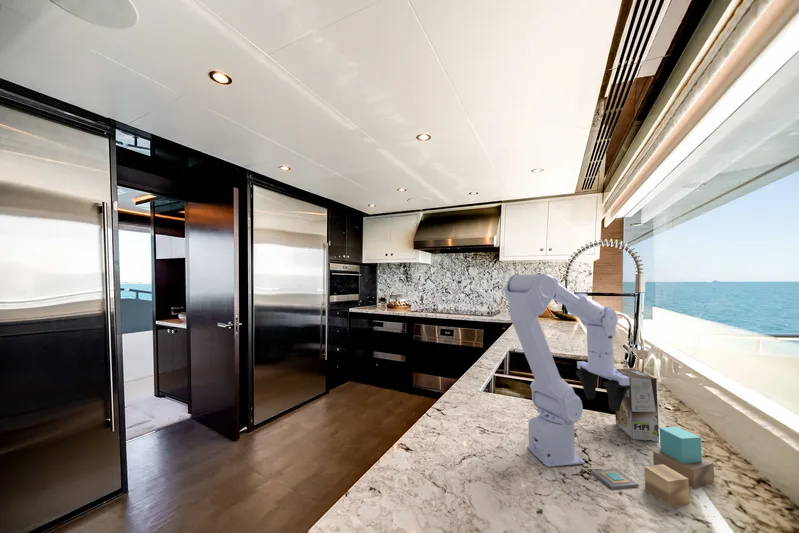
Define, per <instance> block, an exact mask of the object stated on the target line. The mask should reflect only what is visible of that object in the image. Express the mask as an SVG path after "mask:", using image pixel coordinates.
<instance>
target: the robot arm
mask: <svg viewBox="0 0 799 533" xmlns="http://www.w3.org/2000/svg"><path fill="white" fill-rule="evenodd" d="M504 293H505V295H506V298H507V300H508V303H509V304H508V306H509V315H510V316H509V317H510V321H511V322H512V326H513V328H514V330H515V333H516V335H517V337H518V340H519V343H520V346H521V348H522V350H523V353H524V355H525V358H526V360H527V362H528V365H529V367H530V370H531V373H532V375H533V377H534V379H533V380H532V382H530V385H529V388H530V390H531V399H532V400H531V401H532V403H533V405H534V406H535V407H536V408H537V410H536V412H537V413H538V415H536V416H535V417H532V418H531V417H530V419H529V420H528V444H527V447H526V448H527V449H528V451H530V452H531V453H532V454H533V455H534V456H535V457H536V458H537V459H538V460H540V462H542V463H543V465H545V466H546V467H548V468H550V467H551V468H552V467H560V466H561V467H562V466H571V465H583V464H585V460H584V459H583V458H581V457H580V456H579V455H578V454H576V450H575V449H576V445H575V441H576V440H575V423H577V422H578V420H580V418H581V417H582V415H583V410H584V409H583V408H584V407H583V403H582V400H581V398H580V396H578V395H577V394H576V393H575V389H574V388H573V387H572V385H570V384H569V383H568V382H567V381H566V380H564V379H563V378H562V376H561V375H560V373H559V370H558V367H557V365H556V362H555V360H554V357H553V354H552V352H551V349H550V347H549V344H548V341H547V338H546V336H545V334H544V331H543V328H542V325H541V324H540V321H539V316H541V315H543V314H544V312H545V311H546V310H547V308H548V307H549V306H550V304H551V302H552V301H555V302H557V303H559V304H562V305H564V306H565V310H566V311H567V312H568V313H569V314H570V315H573V316H575V317H576V318H578V319H580V322H581V323H582V324H583V326H586V343H587V344H586V345H587V346H586V347H587V349H586V350H587V362H586V361H584V360H581V361H579V360H578V361H576V365H577V366H576V368H577V369H578V370H576V371H575V374H576V376H577V377H578V379H579V381H580V383H581V385H582V388H583V391H584V395H585V398H586V399H587V400H594V399H596V392H597V391H596V390H597V388H596V387H597V382H598V377H601V378H604V379H607V380H609V381H603V385H604V388H605V391H606V393H607V400H608V408H609V411H610V412H615V411H619V410H620V407H621V403H622V400H623V398H624V396H625V394H626V392H627V391H628V390H629V388H630V382H629V377H627V376H625V375H623V374H621V373H619V372H618V371H617V369H618V368H615V359H614V358H615V357H614V355H615V352H614V336H615V335H616V328H617V325H618V321H619V317H618V315H617V312H616V311H615V309H613V308H612V307H609V306H603V305H601V304H600V302H598V301H596V300H593V299H591V298H590V297H588V296H589V295H588V294H587V293H583V292H580V293H573V292H572V291H570V290H569V289H567V288H566V287H564V286H563V285H562V284H561V283H560V282H559V281H558V278H557V277H554V276H552V275H551V274H550V273H546V272H545V273H540V274H538V273H537V274H536V273H535V274H512V275H511V276H510V277H509V278H508V280H507V282H506V285H505V288H504Z"/></svg>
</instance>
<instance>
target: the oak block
mask: <svg viewBox="0 0 799 533" xmlns="http://www.w3.org/2000/svg"><path fill="white" fill-rule="evenodd" d="M643 469H644V470H643V472H644V489H645V490H646V491H647V492H648V493H650V494H651V495H653V496H654V497H655V498H657V499H658V500H659V501H661V502H663V503H665V505H667V506H668V507H672V506H673V507H675V506H682V504H683V505H688V504H689V503H690V502H691V500H690V487H689V482H688V478H686V477H684V476H683V475H681V474H679V473H677V472H676V471H674V470H672V469H671V468H669V467H667V466H665V465H664V464H661V465H654V464H652V465H644V466H643Z"/></svg>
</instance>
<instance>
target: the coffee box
mask: <svg viewBox="0 0 799 533" xmlns="http://www.w3.org/2000/svg"><path fill="white" fill-rule="evenodd" d="M616 369H617V371H618V372H619V373H621V374H623V375H625V376H627V377H629V382H630V388H629V390H628V391H627V392H626V394H625V396H624V398H623V400H622V403H621V407H620V410H619V411H614V412H615V425H616V424H617V427H619V428H620V429H621V430H622V431H623V432H624V433H626V434H627V435H628V436H629V437H630V438H631V439H633V440H638V441H639V440H641V441H647V440H652V441H651V442H656V441H659V442H660V430H659V428H660V427H659V426H660V425H659V409H658V408H659V407H658V406H659V405H658V403H659V402H658V385H657V382H658V380H657V378H655V377H654V376H651V375H649V374H647V373H645V372H642V371H641V370H639V369H633V368H616Z"/></svg>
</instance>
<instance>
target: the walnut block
mask: <svg viewBox="0 0 799 533" xmlns="http://www.w3.org/2000/svg"><path fill="white" fill-rule="evenodd" d="M652 458H653V465H661V464H664V465H665V466H667V467H669V468H671V469H672V470H674V471H676V472H677V473H679V474H681V475H683V476H684V477H686V478H688V482H689V488H691V489H693V490H696V489H699V488H701V487H704V486H707V485H709V484H711V483H713V482H714V483H715V467H714V462H713V461H710V460H708V459H706V458H703V457H702V462H695V463H681V462H679V461H677V460H676V459H674V458H672V457H670V456H669V455H667V454H665V453H663V452H662V451H660V448H659V449H656V450H653V451H652Z"/></svg>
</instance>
